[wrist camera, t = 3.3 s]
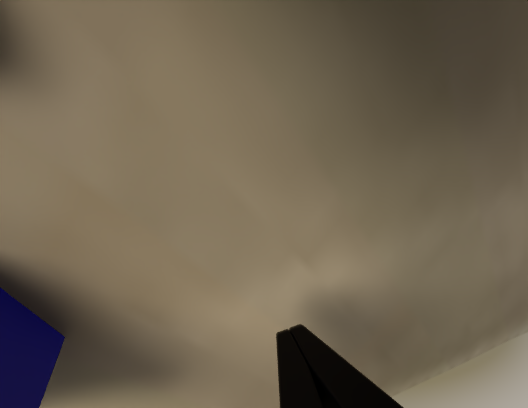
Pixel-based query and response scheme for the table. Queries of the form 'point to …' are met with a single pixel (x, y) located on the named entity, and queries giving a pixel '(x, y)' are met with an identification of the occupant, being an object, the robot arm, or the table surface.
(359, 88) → the table surface
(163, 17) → the table surface
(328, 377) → the robot arm
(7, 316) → the cable clip
